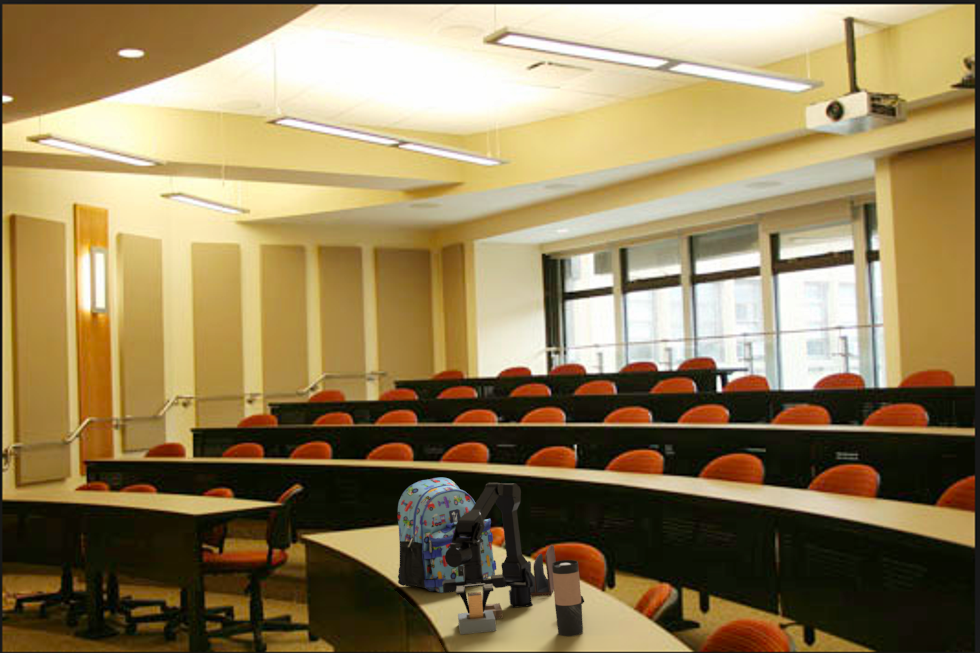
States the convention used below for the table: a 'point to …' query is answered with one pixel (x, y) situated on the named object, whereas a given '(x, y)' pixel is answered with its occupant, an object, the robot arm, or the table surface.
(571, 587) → the travel mug
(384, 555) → the table surface
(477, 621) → the socket
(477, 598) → the peg
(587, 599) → the table surface
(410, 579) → the backpack
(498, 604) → the mount
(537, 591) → the letter holder
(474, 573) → the robot arm
